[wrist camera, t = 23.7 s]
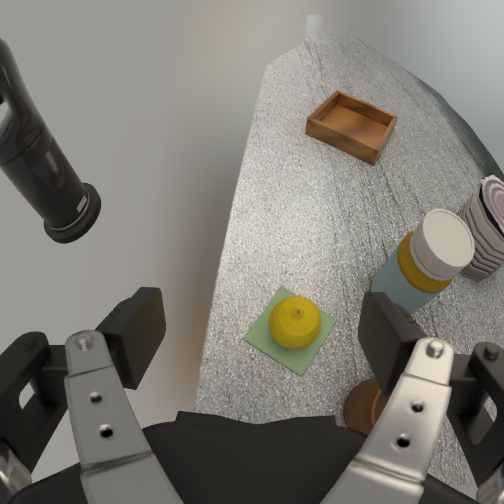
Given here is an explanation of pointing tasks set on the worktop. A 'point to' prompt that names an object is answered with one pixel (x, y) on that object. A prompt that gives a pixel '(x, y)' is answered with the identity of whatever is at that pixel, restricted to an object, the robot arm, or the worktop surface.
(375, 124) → the crate
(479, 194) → the can
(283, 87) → the worktop surface
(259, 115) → the worktop surface
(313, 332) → the fruit
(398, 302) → the bottle
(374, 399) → the mug
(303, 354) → the mat
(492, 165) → the worktop surface
